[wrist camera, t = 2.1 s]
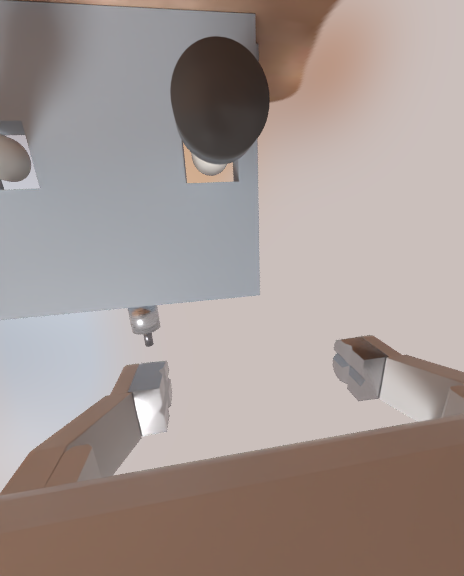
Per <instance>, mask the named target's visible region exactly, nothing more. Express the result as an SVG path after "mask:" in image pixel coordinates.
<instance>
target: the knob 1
mask: <svg viewBox="0 0 464 576" xmlns="http://www.w3.org/2000/svg"><path fill="white" fill-rule="evenodd" d="M30 170H31V161H30V157H29V155H28V153H27V152H26V150H25V149H24V147H23V146H21V145H20V144H19V143H18V142H17V141H15V140H13V139H11V138H8V137H6V136H4V135H2V134H0V180H5V181H11V182H18V181H21V180H23V179H25V178H26V177H27V176H28V175H29V173H30Z"/></svg>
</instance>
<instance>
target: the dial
mask: <svg viewBox="0 0 464 576" xmlns="http://www.w3.org/2000/svg"><path fill="white" fill-rule="evenodd" d="M128 311H129V317H130V322H131V327H132V331H133V333H135V334H144V340H145V345H146V346H148V347H149V346H152V345H153V339H152V333H151V332H154V331H156V330H157V329H159V327H160V322H159V315H158V309H157V305H152V306H142V307H132V308H128Z"/></svg>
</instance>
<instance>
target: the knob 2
mask: <svg viewBox="0 0 464 576" xmlns="http://www.w3.org/2000/svg"><path fill="white" fill-rule="evenodd" d="M170 96H171V104H172V109H173V114H174V118H175V122H176V126H177V130H178V133H179V135H180V137H181V139H182V141H183V143H184V144H185V146H186V147H187V148H188V149H189V150H190V152H191V153H192V160H193V163H194V165H195V167H196V168H197V169H198V170H199V171H200V172H201V173H203V174H205V175H209V176H210V175H211V176H213V175H217V174H219V173H221V172H222V171H223V170H224V169H225V167H226V165H227V164H228V163H231V162H234V161H236V160H238V159H239V158H241V157H242V156H243V155H244V154H245V153H246V152H247V151H248V150H249V149H250V147H251V146H252V145H253V143H254V142H255V141H256V139H257V138H258V136H259V135H260V133H261V132H262V130H263V128H264V126H265V123H266V120H267V117H268V111H269V89H268V84H267V80H266V77H265V74H264V72H263V69H262V67H261V65H260V64H259V62H258V61H257V59H256V58H255V56H254V55H253V54H252V53H251V52H250V51H249V50H248V49H247V48H246V47H245V46H243V45H242V44H240V43H239V42H237V41H235V40H233V39H230V38H226V37H220V36H211V37H206V38H203V39H200V40H198V41H196V42H195V43H193V44H192V45H190V46H189V47H188V48H187V49H186V50H185V51H184V52H183V54H182V55H181V56H180V58H179V60H178V61H177V63H176V66H175V68H174V71H173V74H172V79H171V87H170Z"/></svg>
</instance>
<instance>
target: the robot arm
mask: <svg viewBox="0 0 464 576" xmlns="http://www.w3.org/2000/svg"><path fill="white" fill-rule="evenodd" d="M334 350H335V351H336V353H337V354H336V355H335V356H334V358H333V368H334V372H335V374H336V376H337V377H338V378H339V380H340V381H342V382H344V383H346V384H348V385H347V389H348V390H349V391H350V392H351V393H352V395H353V396H354V397H355V398H356V399H357V400H358V401H363V400H371V399H378V398H379V399H380V400H381V401H383V402H384V403H386V404H388V405H390V406H391V407H393V408H395V409H396V410H398V411H400V412H402V413H403V414H405V415H407V416H408V417H410V418H412V419H414V420H415V421H417V422H414V423H408V424H402V425H397V426H392V427H386V428H380V429H374V430H368V431H362V432H357V433H351V434H345V435H340V436H334V437H329V438H323V439H318V440H312V441H306V442H301V443H295V444H290V445H283V446H278V447H273V448H267V449H261V450H255V451H250V452H244V453H238V454H233V455H227V456H222V457H216V458H211V459H205V460H199V461H193V462H188V463H182V464H177V465H171V466H165V467H160V468H154V469H148V470H142V471H137V472H132V473H126V474H120V475H114V476H113V474H114V473H115V472H116V471H117V469H118V468H119V467H120V465H121V464H122V462H123V461H124V460H125V459H126V457H127V456H128V455H129V453H130V452H131V451H132V450H133V448H134V447H135V446H136V444H137V443H138V442H139V440H140V439H141V436H146V435H152V434H157V433H162V432H167V428H168V421H169V410H168V408H169V407H170V406H171V400H172V389H171V380H170V379H169V378H168V373H169V368H168V363H167V361H160V362H150V363H141V364H132V365H126V366H125V367H124V368H123V370H122V372H121V374H120V376H119V378H118V381H117V382H116V384H115V387H114V388H113V390H112V392H111V394H110V395H109V396H105V397H104V398H102V399H101V400H100V401H98V402H97V403H95V404H94V405H93V406H91V407H90V408H89V409H87V410H86V411H85V412H83V413H82V414H81V415H79V416H78V417H76V418H75V419H74V420H72V421H71V422H70V423H68V424H67V425H66V426H64V427H63V428H62V429H60V430H59V431H58V432H56V433H55V434H54V435H52V436H51V437H49V438H48V439H47V440H45V441H44V442H43V443H42V444H40V445H39V446H37V447H36V448H35V449H33V450H32V451H31V452H30V453H29V454H28V456H27V457H26V458H25V460H24V461H23V462H22V464H21V465H20V467H19V468H18V470H17V471H16V472H15V473H14V475H13V476H12V478H11V479H10V480H9V482H8V483H7V485H6V486H5V488H4V489H3V490H2V492H1V493H0V576H464V372H461V371H458V370H455V369H451V368H448V367H445V366H441V365H438V364H435V363H431V362H428V361H425V360H422V359H418V358H415V357H412V356H408V355H401V354H400V353H398V352H397V351H395V350H394V349H392V348H391V347H389V346H388V345H386V344H385V343H383V342H382V341H380V340H379V339H377V338H376V337H374V336H372V335H367V336H361V337H355V338H348V339H341V340H336V342H335V345H334Z"/></svg>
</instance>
